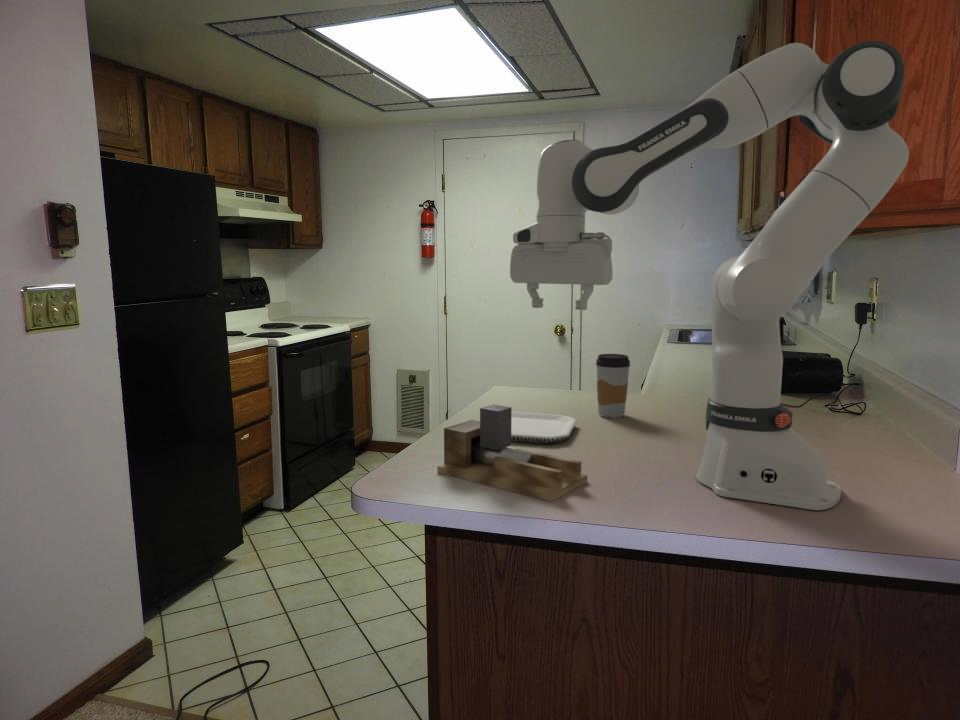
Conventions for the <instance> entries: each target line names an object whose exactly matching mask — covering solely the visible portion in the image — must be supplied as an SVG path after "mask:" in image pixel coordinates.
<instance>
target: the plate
mask: <svg viewBox="0 0 960 720" xmlns="http://www.w3.org/2000/svg"><path fill="white" fill-rule="evenodd" d="M577 421H578V420H577V419H576V418H575V417H570V416H567V415H564V414H562V415H561V414H547V413H546V414H545V413H534V412H533V413H532V412H531V413H530V412H516V411H512V412H511V442H516V441H518V442H517V443H519V442H520V443H529V442H534V443H533V444H543V443H549V444H554V442H555V443H560V442H562V441H564V440H566V439H567V438H570V437H569V436H571V434H572V431H573V429H575V426H576V424H577Z"/></svg>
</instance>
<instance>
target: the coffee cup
mask: <svg viewBox="0 0 960 720" xmlns="http://www.w3.org/2000/svg"><path fill="white" fill-rule="evenodd" d="M595 361H596V363H595V365H596V390H597V391H596V392H597V395H596V396H597V398H596V399H597V409H598V410H597V411H598V414H599V416H600V415H601V416H600V417H602V416H603V417H602V418H606V417H610V418H609V419H620V418H623V417H624V415H625V413H626V402H627V396H628V395H627V394H628V385H629V372H630V367H631V363H630V362H631V360H630V359H629V356H628V355H627V354H621V353H601V354H598V356H597V359H596V360H595ZM622 416H623V417H622ZM619 417H620V418H619Z"/></svg>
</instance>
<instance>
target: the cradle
mask: <svg viewBox="0 0 960 720" xmlns="http://www.w3.org/2000/svg"><path fill="white" fill-rule="evenodd" d="M471 440H473V441H478V442H480V420H476V419H475V420H474V419H471V420H467V421H464V422H461V423H457V424H454V425H451V426H447V427H444V428H443V449H444V450H443V457H444V458H443V459H444V460H443V462H444V463H442V464H438V465H437V473H438V474H443V475H446V476H449V477H454V478H458V479H461V480H465V481H470V482H473V483H478V484H481V485H485V486H489V487H491V488H492V487H493V488H496V489H500V490H505V491H508V492H513V493H516V494H520V495H524V496H527V497H532V498H536V499H540V500H542V501H543V500H544V501H547V502H549V503H550V502H553V501H556V500H557V499H559V498H560V497H562V496H564V495H566V494H567V493H569V492H571V491H573V490H575V489H577V488H578V487H581V486H582V485H584V484H586V483H587V482H588V474H584V473H582V461H580V460H575V459H570V458H566V457H562V456H556V455H551V454H547V453H541V452H537V451H532V450H528V449H523V448H516V450H520V451H525V452H530V453H532V454H533V457H534V464H530V463H526V462H521V461H517V460H512V459H508V458H503V457H499V456H498V457H495V458H494V465H489V464H485V463H481V462H476V461H472V460H471Z"/></svg>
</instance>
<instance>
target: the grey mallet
mask: <svg viewBox="0 0 960 720" xmlns="http://www.w3.org/2000/svg"><path fill="white" fill-rule="evenodd" d="M511 412H513V411H512V406H507V405H506V406H505V405H501V404H494V403H493V404H491V405H487V406H483V407H479V421H480V442H478V441H473V440H471V460H472V461H476V462H481V463H485V464H489V465H494V458H495V457H498V456H499V457H503V458H508V459H512V460H517V461H521V462H526V463H530V464H534V457H533V454H532V453H530V452H525V451H520V450H516V449H517V448H516V449H515V448H509V447H511V446H512V441H511Z"/></svg>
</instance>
